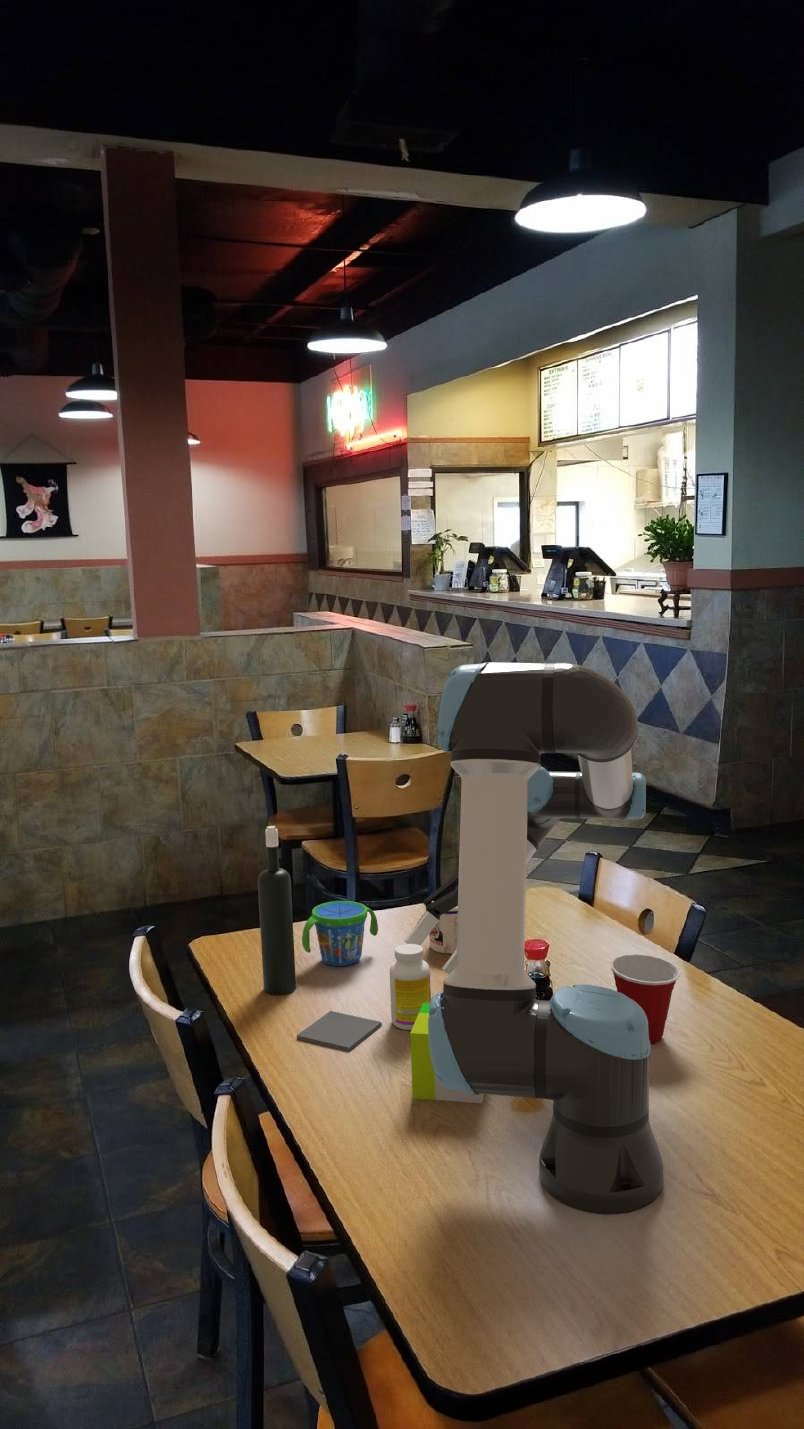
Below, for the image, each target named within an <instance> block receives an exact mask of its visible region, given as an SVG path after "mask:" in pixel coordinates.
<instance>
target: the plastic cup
mask: <svg viewBox="0 0 804 1429" xmlns="http://www.w3.org/2000/svg"><path fill="white" fill-rule="evenodd" d="M609 964H610V970H611V971H612V973H613V978H614V985H615V987H616V991H617V992H620V993H622V994H624V995H626V996H627V997H628V998H630V999H632V1000H634V1001H635V1002H636V1003H637V1004H638V1005H639V1006H640V1007H641V1008H642V1009H643V1011H644V1012H645V1014H646V1017H647V1020H648V1031H649V1041H650V1044H651V1046H652V1045H656V1044H659V1043H660V1042H661V1041H662V1040H663V1036H664V1032H665V1028H666V1027H665V1026H666V1023H667V1018H668V1015H669V1014H668V1013H669V1009H670V1004H671V999H672V994H673V991H674V988H675V984H676V983H677V981H678V979H679V978H680V977H681V975H682V974H681V971H680V968H679V967H678V966H677V965H676V964H674V963H673V962H671V961H668V960H667V959H664V958H662V957H658V956H653V955H650V954H640V953H639V954H638V953H631V954H628V953H627V954H622V955H619V956H616V957H613V959H611V961H610V962H609Z"/></svg>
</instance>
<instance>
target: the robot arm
mask: <svg viewBox="0 0 804 1429" xmlns="http://www.w3.org/2000/svg"><path fill="white" fill-rule="evenodd" d="M437 727H438V735H437V739H438V740H437V741H438V746H439V749H440V750H441V751H442V752H443V753H447V754H450V760H449V762H450V766H451V768H452V769H453V770H454V771H455V772H456V773H457V774H458V776H460V779H461V787H460V788H461V789H460V790H461V792H460V794H461V795H460V818H459V819H460V824H459V825H460V826H459V828H460V829H459V853H458V854H459V855H458V857H459V858H458V860H459V861H458V862H459V863H458V871H457V872H456V873H455V874H454V876H453V877H451V878H450V879H448V880H447V881H446V882H445V883H444V884H442V885H441V886H440V887H438V888H437V889H436V890H434V892H432V893H431V894H430V895H428V896H427V897H426V898H424V900H423V901H422V902H423V903H422V904H423V905H424V906H425V912H424V913H423V914H422V915H421V917H420V919H419V920H418V921H417V923H416V925H415V926H414V928H413V929H412V930H411V932H410V933H409V935H407V937H406V939H405V940H404V941H403V942H404V943H405V944H417V945H420V946H422V945H423V943H424V941H425V940H426V939H427V938H428V936H429V934H430V932H431V931H432V930H433V928H434V927H435V925H436V924H437V923H438V921H439V920H440V916H441V915H442V914H444V913H446V912H448V911H450V910H451V909H453V908H455V907H457V906H458V919H457V949H456V950H455V952H454V953H453V954H451V956H450V957H449V959H448V960H447V961H446V963H445V964H444V965H443V966H442V970H443V971H444V972H446V973H447V974H448V975H446V977H445V978H444V979H443V983H442V984H443V987H442V988H443V990H442V991H441V992H440V991H439V992H438V993H435V994H434V995H433V996H431V1001H430V1005H429V1018H428V1036H429V1048H430V1055H431V1061H432V1065H433V1069H434V1072H435V1075H436V1077H437V1079H438V1081H439V1082H440V1083H441V1084H442V1086H444V1087H445V1088H447V1089H449V1090H454V1091H461V1092H468V1093H471V1094H473V1095H479V1094H484V1095H493V1096H505V1097H514V1098H527V1099H528V1098H529V1099H542V1100H552V1117H551V1120H550V1123H549V1125H548V1129H547V1130H546V1135H545V1138H544V1140H543V1143H542V1146H541V1149H540V1152H539V1160H538V1163H539V1165H538V1166H539V1168H538V1169H539V1171H538V1172H539V1178H540V1182H541V1184H542V1186H543V1187H544V1189H545V1190H546V1191H547V1192H548V1194H550V1195H551V1196H552V1197H554V1198H555V1199H557V1200H558V1201H560V1202H561V1203H563V1204H565V1205H568V1206H571V1207H573V1208H576V1209H579V1210H582V1211H587V1212H593V1213H599V1214H600V1213H601V1214H617V1213H625V1212H631V1211H635V1210H638V1209H641V1208H643V1207H645V1206H647V1205H648V1204H650V1203H652V1202H653V1201H655V1200H656V1199H657V1198H658V1196H659V1195H660V1194H661V1192H662V1190H663V1186H664V1163H663V1162H664V1161H663V1158H662V1155H661V1153H660V1150H659V1147H658V1144H657V1141H656V1138H655V1135H654V1132H653V1129H652V1127H651V1123H650V1110H649V1108H650V1082H649V1078H650V1076H649V1073H650V1072H649V1070H650V1067H649V1065H650V1064H649V1060H650V1058H649V1055H651V1048H652V1045H651V1044H650V1041H649V1031H648V1020H647V1017H646V1014H645V1012H644V1011H643V1009H642V1008H641V1007H640V1006H639V1005H638V1004H637V1003H636V1002H635V1001H634V1000H632V999H630V998H628V997H627V996H626V995H624V994H622V993H620V992H617V990H614V989H611V988H608V987H604V986H598V985H592V984H583V983H582V984H574V985H572V986H570V985H565V986H563V987H560V988H557V989H556V991H554V992H553V994H552V996H551V998H550V1000H543V999H542V1000H541V999H537V998H536V996H537V995H536V993H537V991H536V990H537V988H536V987H537V984H536V982H535V981H534V980H533V979H532V978H531V976H529V974H527V972H526V970H525V947H526V946H525V945H526V944H525V942H526V939H525V938H526V935H525V934H526V905H527V903H526V897H527V893H526V892H527V864H528V863H529V861H530V860H531V858H532V857H533V856H534V854H535V853H536V852H537V851H538V849H539V848H540V846H541V845H542V844H543V843H544V841H545V840H546V839H547V837H548V836H549V835H550V833H551V832H552V830H553V829H554V828H555V826H556V825H557V823H558V822H559V821H560V820H561V819H589V820H590V819H592V820H593V819H595V820H597V819H598V820H619V821H626V820H640V819H643V818H644V817H645V816H646V813H647V812H646V810H647V809H646V808H647V807H646V805H647V804H646V801H647V798H646V797H647V793H646V792H647V787H646V786H647V780H646V779H647V778H646V776H645V775H644V774H643V773H640V772H633V761H632V760H633V759H632V748H633V747H634V746H635V743H636V740H637V738H638V733H639V723H638V715H637V712H636V709H635V707H634V705H633V703H632V701H631V700H630V699H629V696H628V695H627V694H626V693H625V692H624V690H622V689H621V688H620V687H619V686H618V685H617V684H616V683H615V682H614V681H612V680H611V679H609V678H608V677H606V676H604V675H603V674H602V673H599V672H598V671H596V670H593V669H591V668H589V667H585V666H583V665H580V664H575V663H569V662H552V663H548V662H547V663H546V662H545V663H544V662H488V661H487V662H483V663H475V664H474V663H473V664H461V665H458V666H456V667H455V668H454V669H453V670H451V672H450V674H449V675H448V677H447V680H446V682H445V684H444V688H443V692H442V694H441V700H440V706H439V712H438V721H437ZM558 753H559V754H576V755H577V758H578V759H577V760H578V764H579V769H580V771H549V770H547V769H546V768H545V767H543V766H542V765H541V755H542V754H558ZM432 901H433V902H432Z"/></svg>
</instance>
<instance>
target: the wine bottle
mask: <svg viewBox="0 0 804 1429" xmlns="http://www.w3.org/2000/svg"><path fill="white" fill-rule="evenodd" d="M264 834H265V835H264V836H265V846H266V856H267V857H266V858H267V869H264V870H262V871H261V872H260V873H259V875H258V877H257V892H258V906H259V907H258V909H259V910H258V912H259V926H260V928H259V929H260V944H261V945H260V946H261V962H262V963H261V964H262V977H263V979H262V981H263V982H262V983H263V991H264V993H265V994H268V995H271V996H284V995H289V994H291V993H293V992H294V991H296V988H297V982H296V981H297V980H296V979H297V977H296V976H297V975H296V961H295V960H296V959H295V957H296V956H295V942H294V941H295V938H294V923H293V922H294V920H293V919H294V918H293V901H292V882H291V881H292V880H291V876H290V873H289V871H287V870H286V869H284V868H281V867H280V862H279V860H280V859H279V832H278V828H276V825H269V826H268V825H267V826H266V829H265V831H264Z"/></svg>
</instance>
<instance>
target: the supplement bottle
mask: <svg viewBox="0 0 804 1429" xmlns="http://www.w3.org/2000/svg"><path fill="white" fill-rule="evenodd" d="M423 957H424V948H423V946H422V945H421V946H420V945H417V944H407V943H405V944H404V943H403V944H400V945H397V946H396V947H395V948H394V958H395V961H394V962H393V963H391V965H390V967H389V983H390V984H389V985H390V986H389V987H390V988H389V989H390V1013H391V1014H390V1017H391V1023H392V1024H393V1025H394V1027H396V1028H398V1029H400V1030H404V1031H411V1030H412V1028H413V1026H414V1023H415V1021H416V1019H417V1016H418V1014H419V1012H420V1009H421V1007H422V1005H423V1003H429V1004H430V1001H431V998H432V995H431V993H432V992H431V990H432V989H431V970H430V966H429V963H427V962H426V961H425V960H424V959H423Z"/></svg>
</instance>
